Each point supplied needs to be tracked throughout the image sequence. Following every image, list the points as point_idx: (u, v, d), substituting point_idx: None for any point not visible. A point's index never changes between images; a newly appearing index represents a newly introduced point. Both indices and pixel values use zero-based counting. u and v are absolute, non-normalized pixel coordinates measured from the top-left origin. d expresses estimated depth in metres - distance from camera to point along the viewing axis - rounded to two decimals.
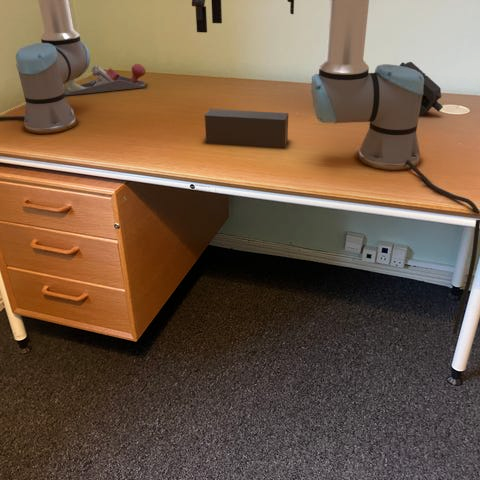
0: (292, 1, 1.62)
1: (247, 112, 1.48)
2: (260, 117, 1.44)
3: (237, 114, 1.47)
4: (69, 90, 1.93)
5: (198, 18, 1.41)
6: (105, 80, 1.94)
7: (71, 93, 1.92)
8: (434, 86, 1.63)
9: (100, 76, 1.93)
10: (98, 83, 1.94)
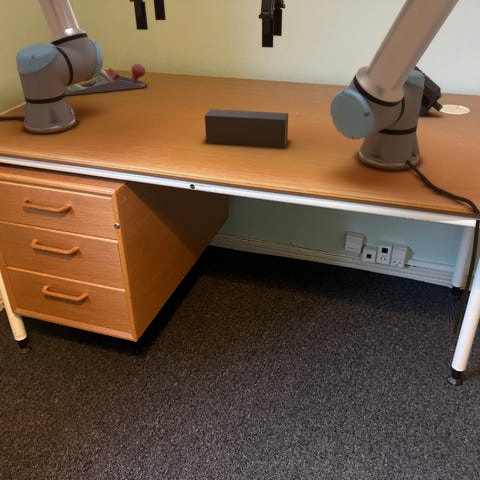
0: (272, 31, 1.27)
1: (247, 112, 1.48)
2: (260, 117, 1.44)
3: (237, 114, 1.47)
4: (69, 90, 1.93)
5: None
6: (105, 80, 1.94)
7: (71, 93, 1.92)
8: (434, 86, 1.63)
9: (100, 76, 1.93)
10: (98, 83, 1.94)
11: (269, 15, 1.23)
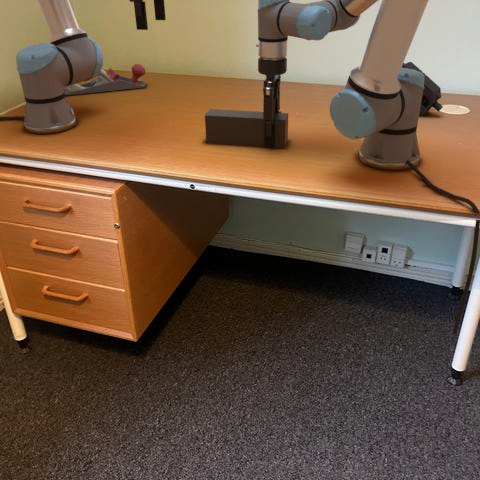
0: (274, 134, 1.45)
1: (247, 112, 1.48)
2: (260, 117, 1.44)
3: (237, 114, 1.47)
4: (69, 90, 1.93)
5: None
6: (105, 80, 1.94)
7: (71, 93, 1.92)
8: (434, 86, 1.63)
9: (100, 76, 1.93)
10: (98, 83, 1.94)
11: (271, 124, 1.40)
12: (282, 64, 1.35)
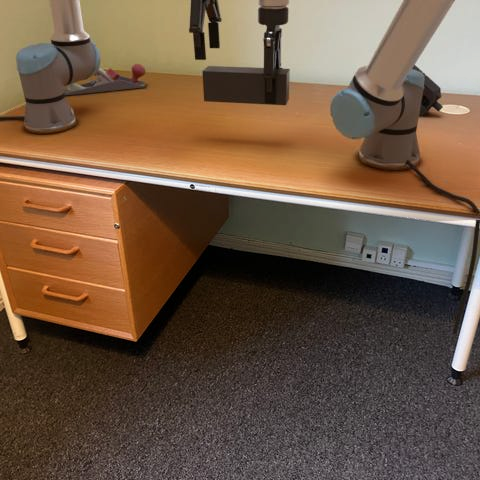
0: (275, 89, 1.38)
1: (247, 68, 1.42)
2: (260, 72, 1.38)
3: (236, 70, 1.40)
4: (69, 90, 1.93)
5: None
6: (105, 80, 1.94)
7: (71, 93, 1.92)
8: (434, 86, 1.63)
9: (100, 76, 1.93)
10: (98, 83, 1.94)
11: (272, 77, 1.34)
12: (284, 13, 1.29)
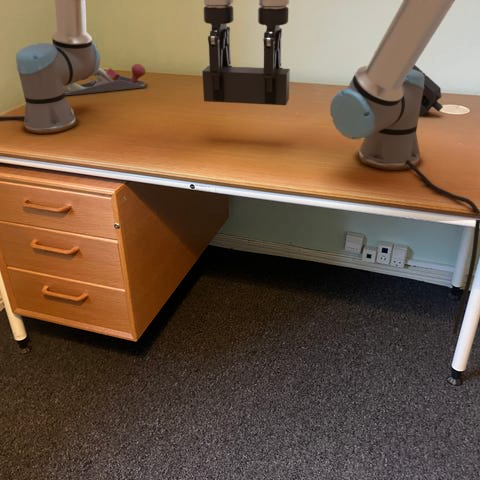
0: (275, 89, 1.38)
1: (247, 68, 1.42)
2: (260, 72, 1.38)
3: (236, 70, 1.40)
4: (69, 90, 1.93)
5: None
6: (105, 80, 1.94)
7: (71, 93, 1.92)
8: (434, 86, 1.63)
9: (100, 76, 1.93)
10: (98, 83, 1.94)
11: (271, 77, 1.34)
12: (284, 13, 1.29)
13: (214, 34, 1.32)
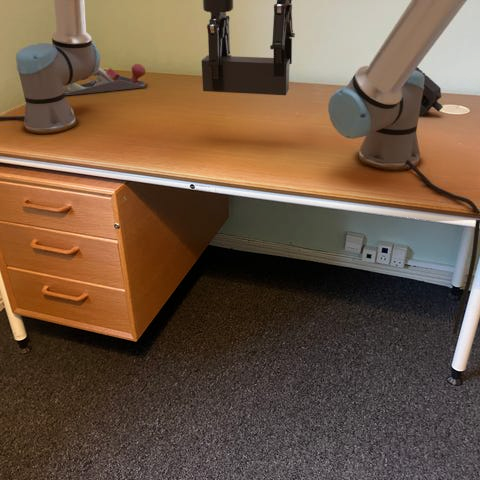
0: (284, 61, 1.30)
1: (246, 58, 1.40)
2: (260, 61, 1.36)
3: (236, 59, 1.39)
4: (69, 90, 1.93)
5: None
6: (105, 80, 1.94)
7: (71, 93, 1.92)
8: (434, 86, 1.63)
9: (100, 76, 1.93)
10: (98, 83, 1.94)
11: (281, 46, 1.25)
12: None
13: (213, 22, 1.31)
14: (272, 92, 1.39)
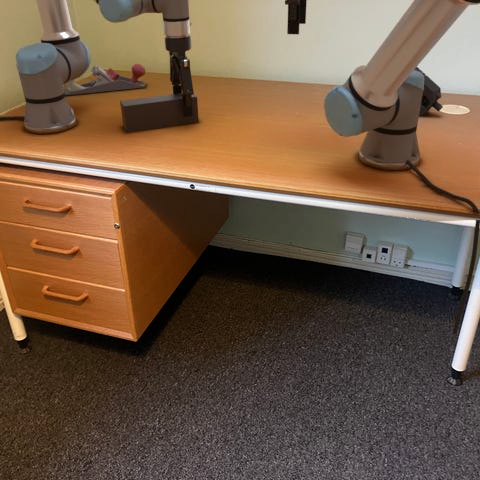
0: (299, 17, 1.24)
1: (160, 100, 1.59)
2: (143, 98, 1.61)
3: (166, 97, 1.61)
4: (69, 90, 1.93)
5: (187, 105, 1.58)
6: (105, 80, 1.94)
7: (71, 93, 1.92)
8: (434, 86, 1.63)
9: (100, 76, 1.93)
10: (98, 83, 1.94)
11: (296, 0, 1.20)
12: None
13: None
14: None
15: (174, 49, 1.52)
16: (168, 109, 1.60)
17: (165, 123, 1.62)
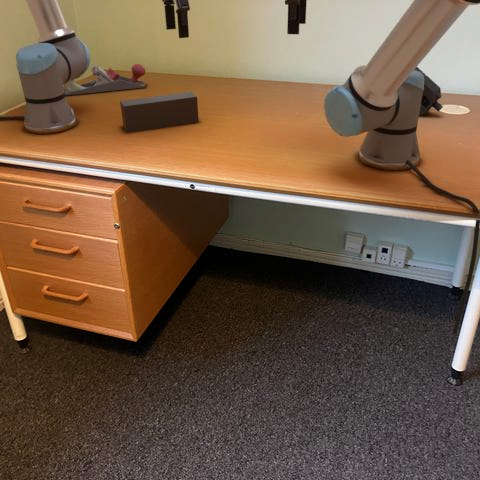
0: (299, 17, 1.24)
1: (160, 100, 1.59)
2: (143, 98, 1.61)
3: (166, 97, 1.61)
4: (69, 90, 1.93)
5: (183, 24, 1.44)
6: (105, 80, 1.94)
7: (71, 93, 1.92)
8: (434, 86, 1.63)
9: (100, 76, 1.93)
10: (98, 83, 1.94)
11: (296, 0, 1.20)
12: None
13: None
14: None
15: None
16: (168, 109, 1.60)
17: (165, 123, 1.62)
